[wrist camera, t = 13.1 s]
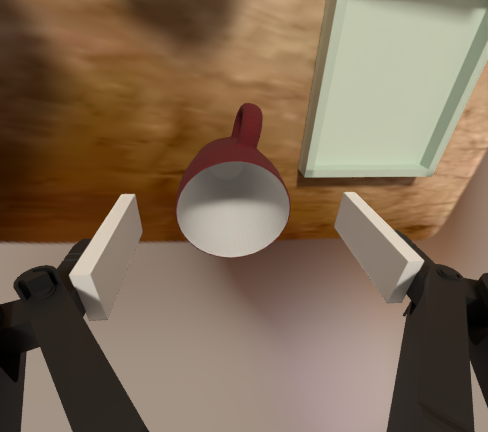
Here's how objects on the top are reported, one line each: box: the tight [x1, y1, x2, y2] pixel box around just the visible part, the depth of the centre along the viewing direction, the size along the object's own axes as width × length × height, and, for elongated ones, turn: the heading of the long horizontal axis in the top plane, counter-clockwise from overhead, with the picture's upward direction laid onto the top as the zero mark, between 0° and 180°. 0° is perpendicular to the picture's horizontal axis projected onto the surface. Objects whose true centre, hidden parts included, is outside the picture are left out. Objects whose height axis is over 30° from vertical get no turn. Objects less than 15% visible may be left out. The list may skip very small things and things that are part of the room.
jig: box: [298, 0, 488, 177], centre depth 20 cm, size 14×26×2 cm, turn 178°
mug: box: [176, 103, 291, 258], centre depth 21 cm, size 10×8×10 cm
